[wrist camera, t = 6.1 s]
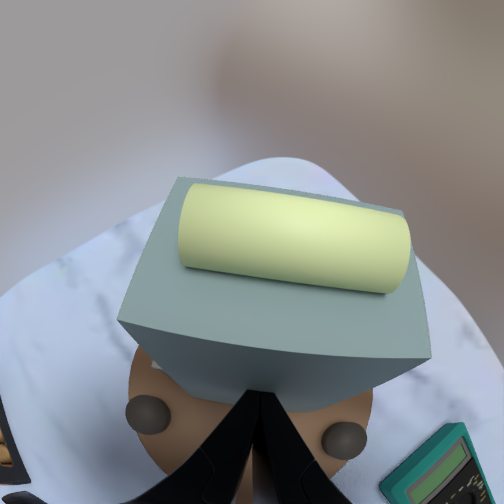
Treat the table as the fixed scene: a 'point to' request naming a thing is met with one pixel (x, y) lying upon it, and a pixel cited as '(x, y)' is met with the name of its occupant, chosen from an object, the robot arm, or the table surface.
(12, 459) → the ammunition clip
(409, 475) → the digital multimeter
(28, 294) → the table surface
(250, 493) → the levelling base
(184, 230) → the post
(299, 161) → the table surface
